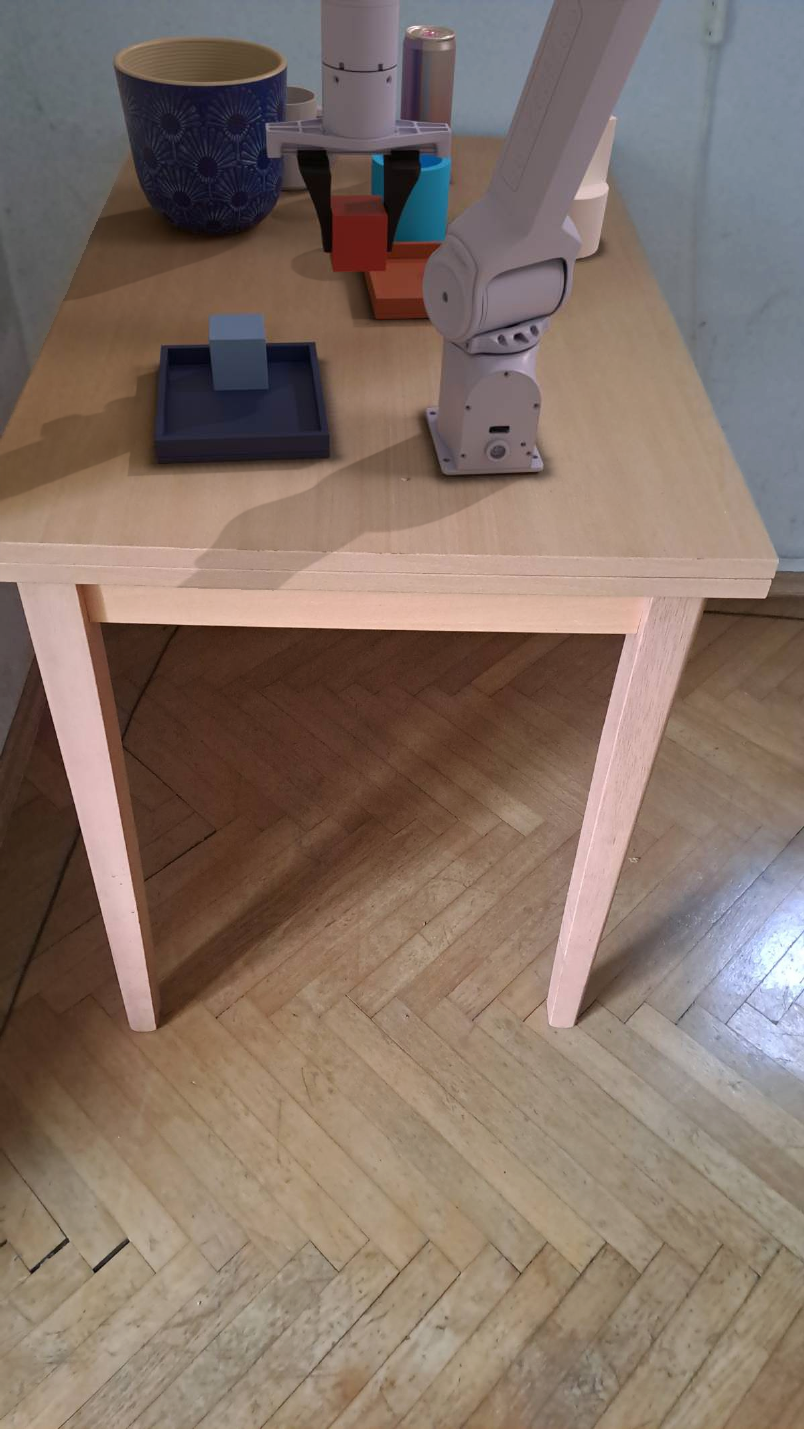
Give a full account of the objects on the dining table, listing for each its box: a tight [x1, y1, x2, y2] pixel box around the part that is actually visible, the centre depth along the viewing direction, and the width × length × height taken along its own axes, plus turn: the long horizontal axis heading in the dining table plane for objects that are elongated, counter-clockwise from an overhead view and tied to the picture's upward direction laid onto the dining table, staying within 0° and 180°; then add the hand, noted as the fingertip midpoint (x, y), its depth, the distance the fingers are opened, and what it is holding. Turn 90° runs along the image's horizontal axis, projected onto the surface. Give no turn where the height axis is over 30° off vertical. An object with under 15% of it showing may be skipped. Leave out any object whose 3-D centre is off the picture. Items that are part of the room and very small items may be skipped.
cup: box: [281, 85, 340, 191], centre depth 115 cm, size 7×10×9 cm
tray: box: [363, 241, 443, 320], centre depth 98 cm, size 13×12×2 cm
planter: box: [112, 35, 288, 236], centre depth 103 cm, size 17×17×15 cm
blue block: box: [208, 313, 268, 391], centre depth 83 cm, size 4×4×4 cm
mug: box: [370, 155, 452, 242], centre depth 106 cm, size 12×8×8 cm
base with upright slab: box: [568, 114, 618, 260], centre depth 104 cm, size 9×9×12 cm
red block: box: [328, 194, 388, 273], centre depth 83 cm, size 4×4×4 cm
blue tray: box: [153, 341, 331, 464], centre depth 81 cm, size 15×13×2 cm
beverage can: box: [399, 24, 457, 129], centre depth 115 cm, size 6×6×15 cm
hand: (357, 247), depth 84 cm, fingers closed on red block, 4 cm apart
